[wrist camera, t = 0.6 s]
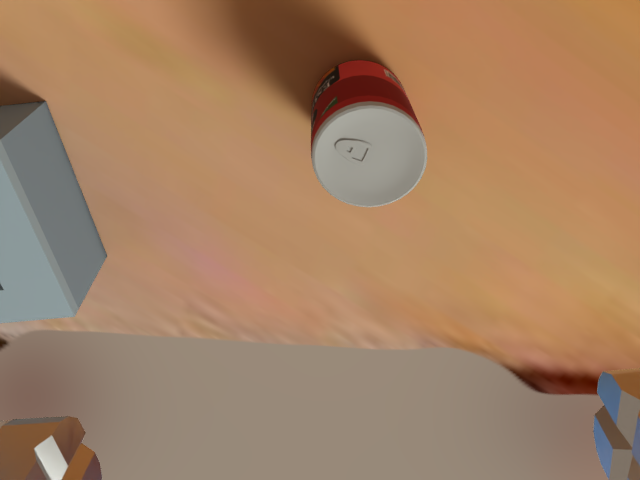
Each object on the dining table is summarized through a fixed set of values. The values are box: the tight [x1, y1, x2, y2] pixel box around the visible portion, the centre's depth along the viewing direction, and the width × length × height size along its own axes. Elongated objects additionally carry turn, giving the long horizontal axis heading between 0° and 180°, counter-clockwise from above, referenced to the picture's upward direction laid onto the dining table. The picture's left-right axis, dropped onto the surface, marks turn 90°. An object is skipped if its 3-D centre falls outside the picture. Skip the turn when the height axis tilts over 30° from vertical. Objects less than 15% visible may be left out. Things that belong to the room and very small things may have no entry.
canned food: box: [311, 60, 427, 207], centre depth 41 cm, size 8×8×11 cm
